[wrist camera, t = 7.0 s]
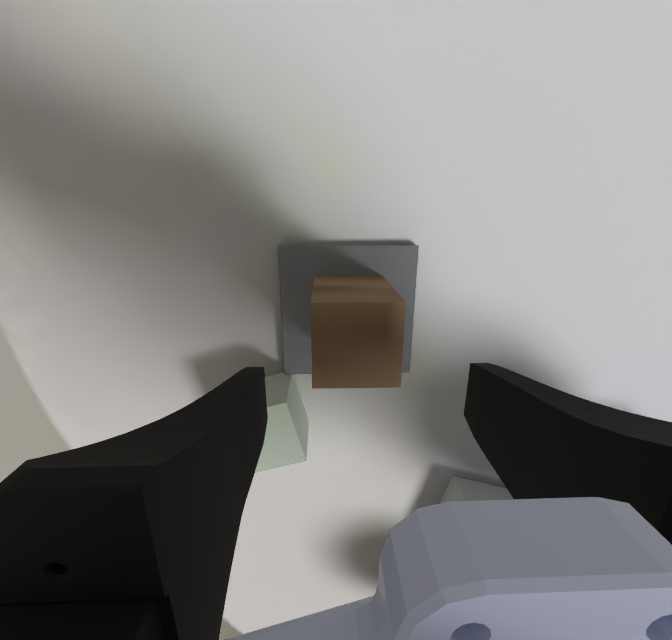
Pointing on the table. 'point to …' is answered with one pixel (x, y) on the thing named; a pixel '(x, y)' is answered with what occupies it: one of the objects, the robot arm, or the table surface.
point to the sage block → (283, 424)
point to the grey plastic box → (473, 491)
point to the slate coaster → (337, 261)
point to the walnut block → (356, 332)
